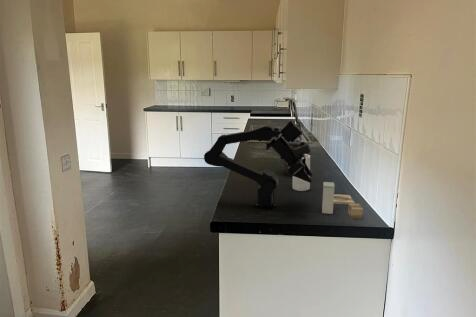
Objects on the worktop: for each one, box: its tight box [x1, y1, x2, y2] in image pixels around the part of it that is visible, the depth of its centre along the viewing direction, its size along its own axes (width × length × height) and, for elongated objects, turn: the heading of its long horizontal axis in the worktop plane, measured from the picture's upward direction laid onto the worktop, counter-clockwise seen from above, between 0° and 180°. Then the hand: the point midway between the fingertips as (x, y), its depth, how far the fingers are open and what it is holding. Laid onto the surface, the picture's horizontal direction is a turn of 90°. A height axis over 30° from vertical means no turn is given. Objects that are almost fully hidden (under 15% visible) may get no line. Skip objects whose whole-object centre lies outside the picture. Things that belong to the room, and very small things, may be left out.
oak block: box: [347, 203, 364, 220], centre depth 137 cm, size 6×4×4 cm, turn 176°
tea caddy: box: [321, 181, 336, 215], centre depth 141 cm, size 4×6×11 cm
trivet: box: [333, 194, 356, 205], centre depth 154 cm, size 10×10×1 cm
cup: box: [292, 153, 311, 192], centre depth 169 cm, size 8×8×16 cm
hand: (311, 178), depth 141 cm, fingers open, 9 cm apart
